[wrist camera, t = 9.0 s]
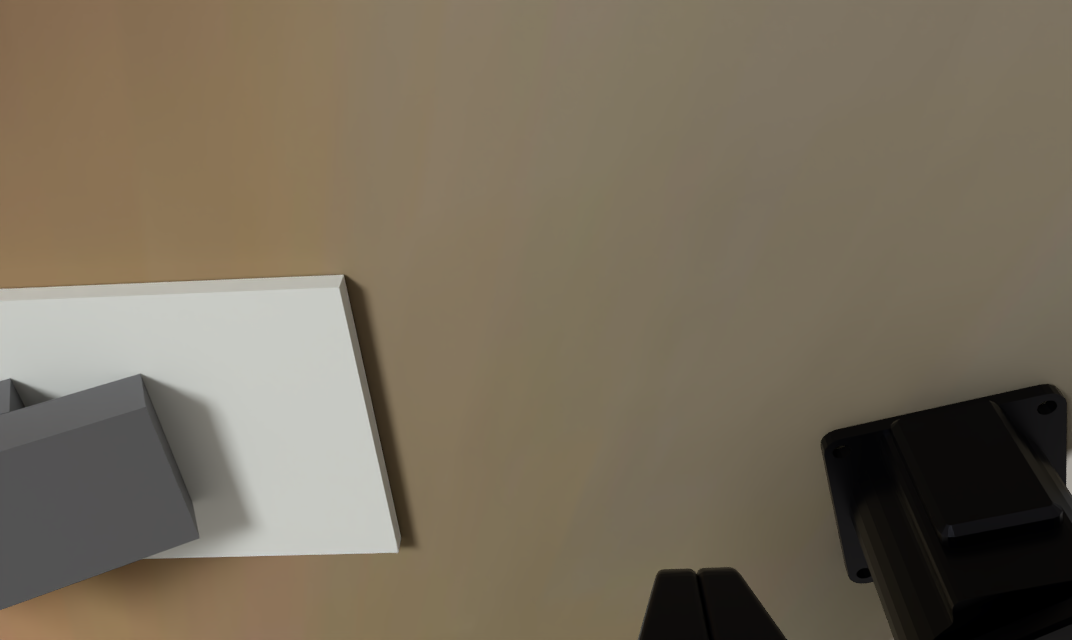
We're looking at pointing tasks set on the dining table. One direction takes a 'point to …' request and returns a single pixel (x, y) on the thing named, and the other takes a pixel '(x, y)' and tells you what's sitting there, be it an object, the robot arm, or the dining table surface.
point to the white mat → (228, 401)
